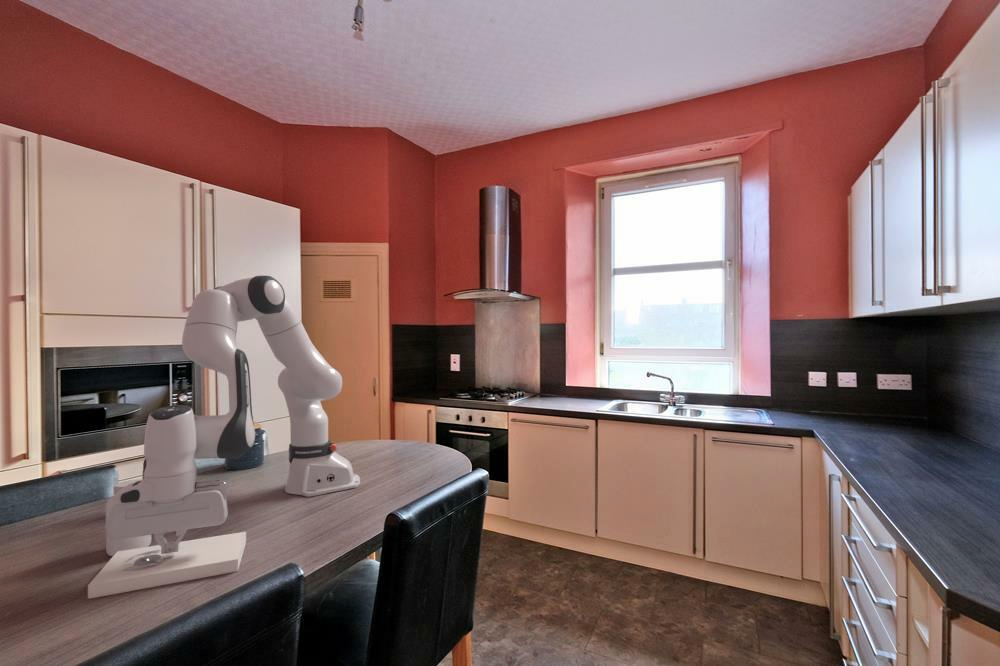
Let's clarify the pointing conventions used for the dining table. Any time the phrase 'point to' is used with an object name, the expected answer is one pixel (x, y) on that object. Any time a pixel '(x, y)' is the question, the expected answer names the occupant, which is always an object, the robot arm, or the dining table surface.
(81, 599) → the dining table surface
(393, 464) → the dining table surface
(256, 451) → the canister
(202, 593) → the dining table surface
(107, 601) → the dining table surface
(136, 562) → the ball
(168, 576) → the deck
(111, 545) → the pill bottle
